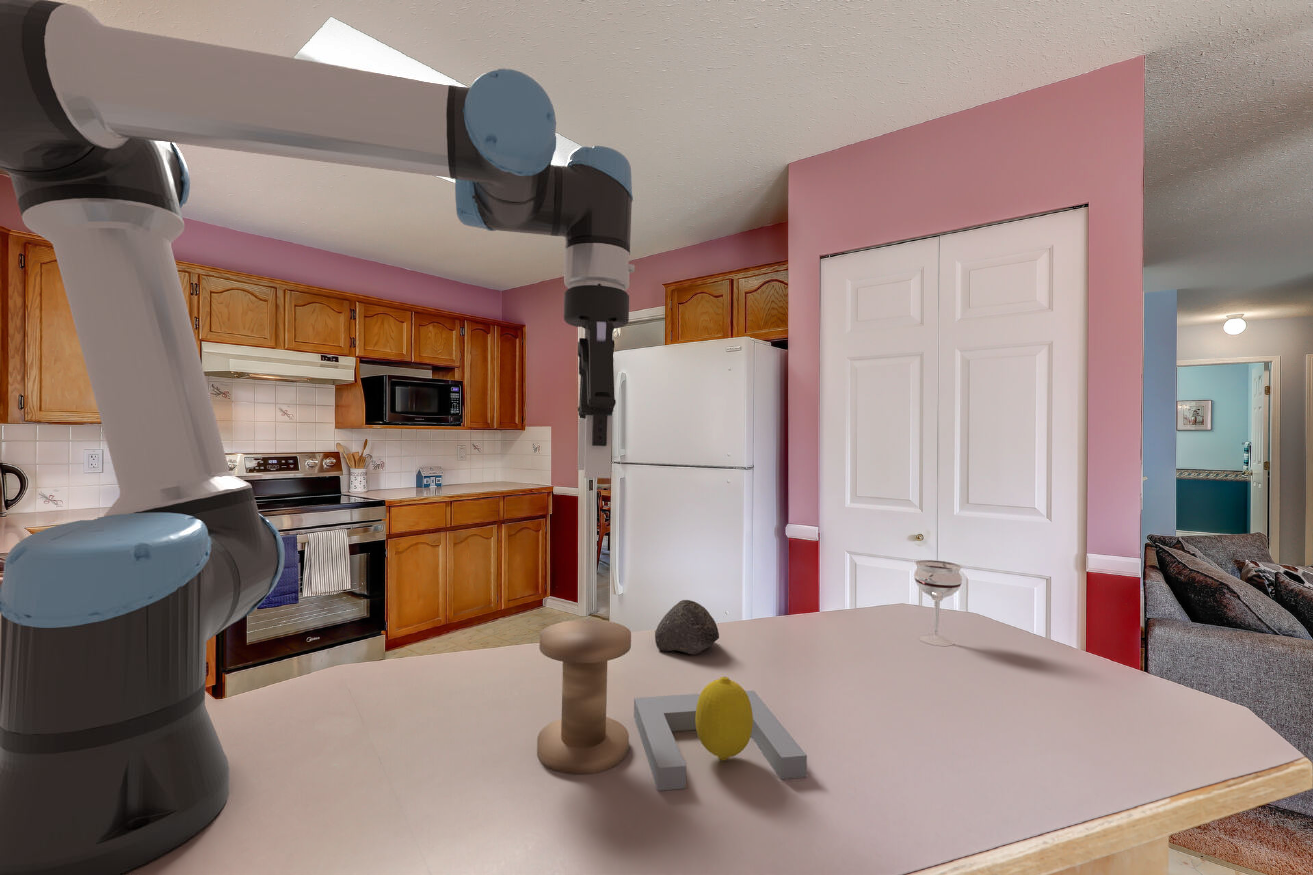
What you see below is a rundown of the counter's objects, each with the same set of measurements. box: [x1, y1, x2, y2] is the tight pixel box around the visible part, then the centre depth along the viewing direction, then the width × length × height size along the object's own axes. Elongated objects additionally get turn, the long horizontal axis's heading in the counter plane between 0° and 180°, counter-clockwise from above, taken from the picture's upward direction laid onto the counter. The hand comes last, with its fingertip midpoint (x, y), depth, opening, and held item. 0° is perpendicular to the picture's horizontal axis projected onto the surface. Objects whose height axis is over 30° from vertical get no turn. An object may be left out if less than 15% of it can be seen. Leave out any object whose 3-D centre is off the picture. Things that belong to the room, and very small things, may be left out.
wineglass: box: [914, 559, 963, 647], centre depth 93 cm, size 7×7×12 cm
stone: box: [654, 599, 720, 656], centre depth 87 cm, size 10×8×10 cm
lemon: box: [695, 676, 753, 762], centre depth 57 cm, size 6×6×8 cm
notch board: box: [633, 690, 808, 792], centre depth 60 cm, size 14×14×2 cm
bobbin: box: [536, 619, 632, 775], centre depth 58 cm, size 9×9×11 cm
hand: (592, 473), depth 68 cm, fingers open, 13 cm apart
